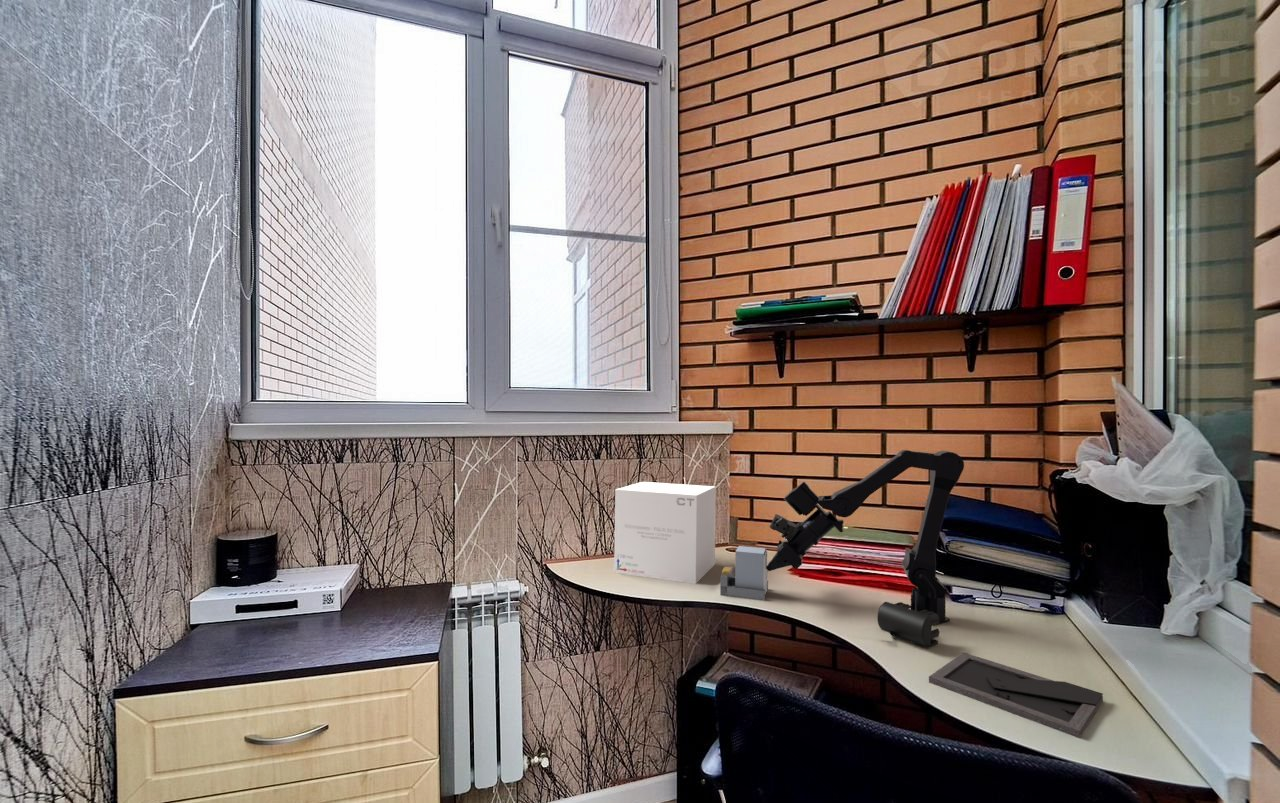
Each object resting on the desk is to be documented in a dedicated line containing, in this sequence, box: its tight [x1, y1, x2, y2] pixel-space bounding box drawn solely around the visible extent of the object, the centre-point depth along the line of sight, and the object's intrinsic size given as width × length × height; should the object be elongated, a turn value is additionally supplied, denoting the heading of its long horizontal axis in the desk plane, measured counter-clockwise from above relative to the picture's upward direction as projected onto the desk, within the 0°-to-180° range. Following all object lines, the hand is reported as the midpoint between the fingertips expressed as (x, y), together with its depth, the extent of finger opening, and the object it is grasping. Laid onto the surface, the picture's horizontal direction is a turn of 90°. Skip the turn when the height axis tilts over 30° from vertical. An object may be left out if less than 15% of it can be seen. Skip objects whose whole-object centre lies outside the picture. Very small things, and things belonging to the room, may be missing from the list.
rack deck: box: [719, 566, 769, 601], centre depth 137 cm, size 24×10×7 cm, turn 72°
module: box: [734, 545, 768, 595], centre depth 139 cm, size 7×6×11 cm
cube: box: [613, 481, 717, 585], centre depth 164 cm, size 25×21×24 cm
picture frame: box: [928, 652, 1104, 739], centre depth 92 cm, size 16×2×21 cm
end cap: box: [876, 601, 940, 649], centre depth 114 cm, size 10×7×7 cm
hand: (767, 569), depth 138 cm, fingers closed, pressing on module
